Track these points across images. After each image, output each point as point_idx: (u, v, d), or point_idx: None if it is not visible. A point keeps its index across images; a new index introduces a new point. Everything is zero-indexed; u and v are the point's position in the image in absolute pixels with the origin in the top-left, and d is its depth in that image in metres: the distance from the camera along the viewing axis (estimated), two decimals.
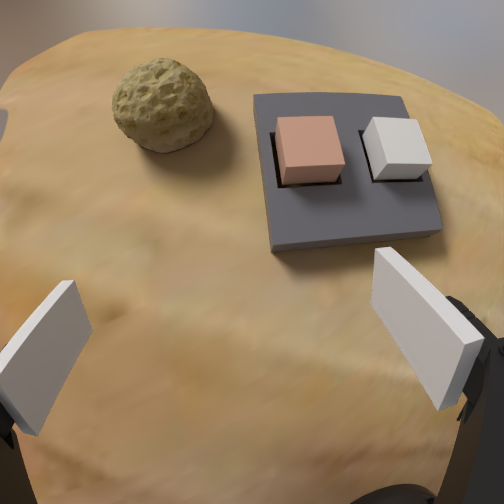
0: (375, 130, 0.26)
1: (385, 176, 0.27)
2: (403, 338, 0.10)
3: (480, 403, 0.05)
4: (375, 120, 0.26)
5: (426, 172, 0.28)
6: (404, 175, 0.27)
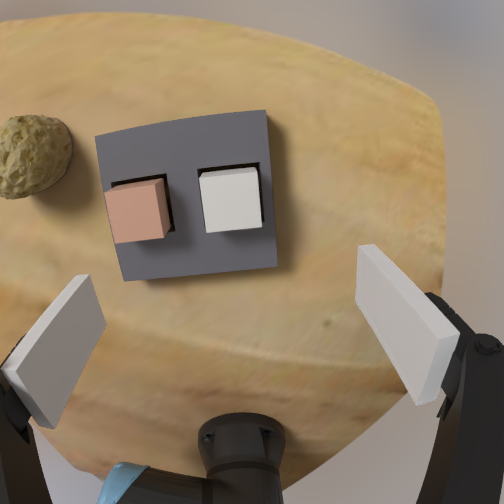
0: None
1: None
2: (384, 334, 0.11)
3: (457, 400, 0.06)
4: (201, 182, 0.27)
5: (271, 211, 0.31)
6: None
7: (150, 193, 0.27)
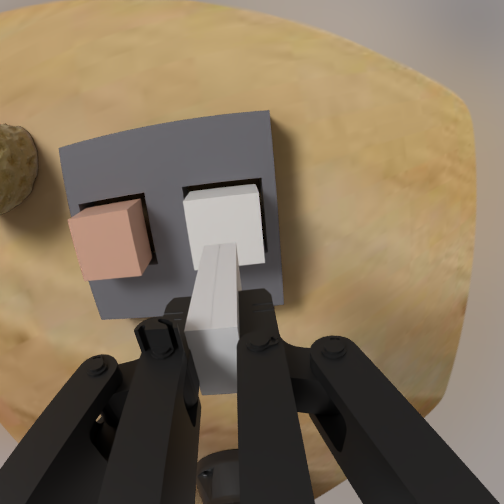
0: None
1: None
2: None
3: None
4: (186, 207, 0.21)
5: (276, 239, 0.25)
6: None
7: (122, 221, 0.21)
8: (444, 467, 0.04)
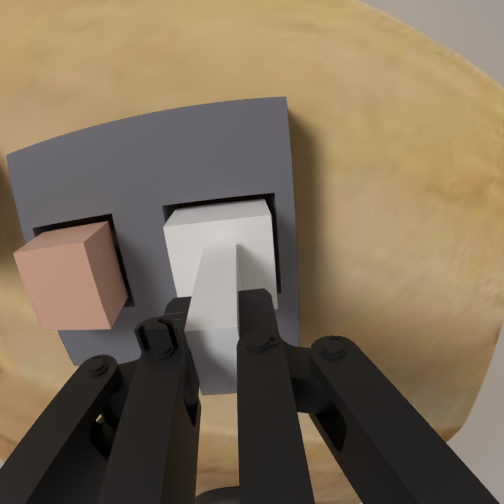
0: None
1: None
2: None
3: None
4: (167, 235, 0.15)
5: (293, 276, 0.18)
6: None
7: (78, 258, 0.14)
8: (444, 467, 0.04)
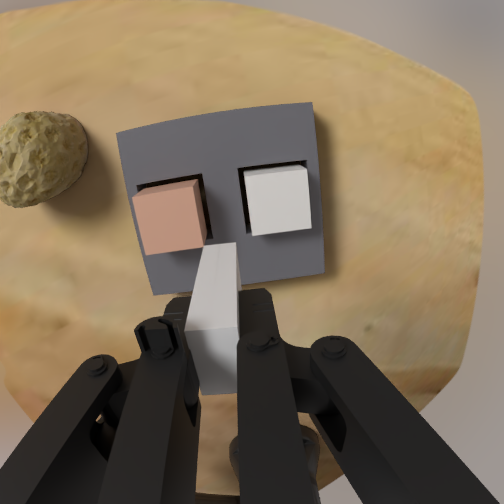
0: (246, 191, 0.25)
1: None
2: None
3: None
4: (247, 181, 0.25)
5: (319, 213, 0.28)
6: None
7: (187, 197, 0.24)
8: (444, 467, 0.04)
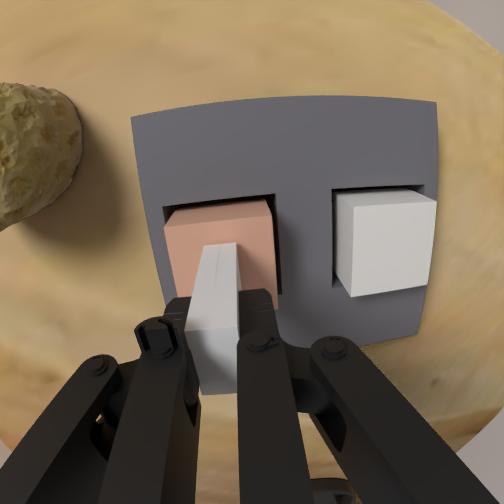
0: (350, 230, 0.15)
1: None
2: None
3: None
4: (356, 214, 0.15)
5: None
6: None
7: (261, 232, 0.15)
8: (444, 467, 0.04)
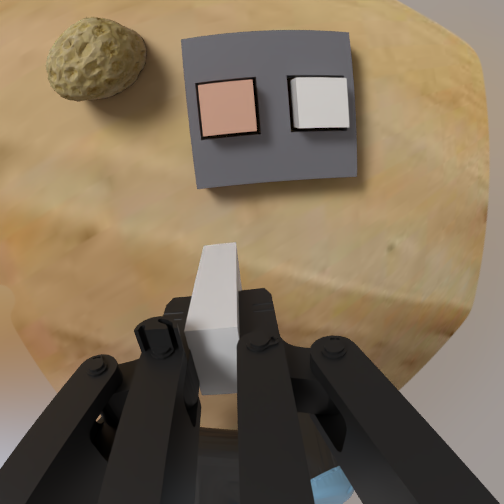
0: (296, 91, 0.27)
1: None
2: None
3: None
4: (297, 81, 0.26)
5: (353, 121, 0.30)
6: None
7: (247, 87, 0.26)
8: (444, 467, 0.04)
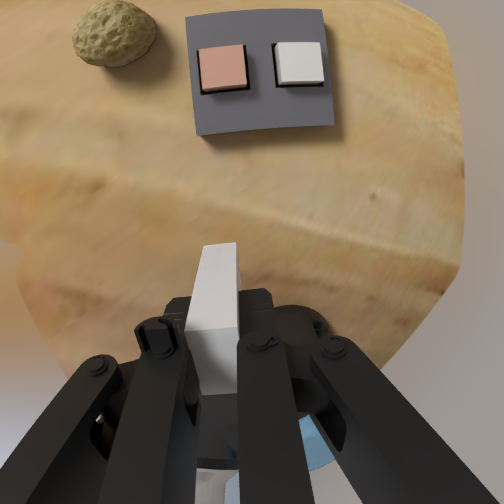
0: (278, 53, 0.31)
1: (286, 84, 0.35)
2: None
3: None
4: (279, 45, 0.30)
5: (328, 78, 0.34)
6: (303, 83, 0.35)
7: (238, 50, 0.30)
8: (444, 467, 0.04)
